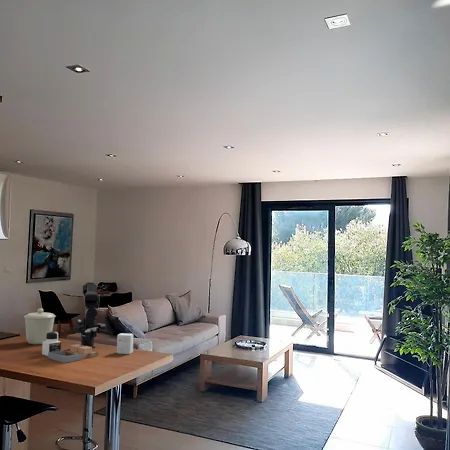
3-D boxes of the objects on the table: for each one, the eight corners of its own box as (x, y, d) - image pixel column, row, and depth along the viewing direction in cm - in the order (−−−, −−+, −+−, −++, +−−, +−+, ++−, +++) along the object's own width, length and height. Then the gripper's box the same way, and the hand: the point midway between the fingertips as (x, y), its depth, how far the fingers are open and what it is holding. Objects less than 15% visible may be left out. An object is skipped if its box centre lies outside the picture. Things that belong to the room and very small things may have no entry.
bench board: (82, 351, 248) (82, 348, 248) (97, 355, 240) (98, 352, 240) (65, 355, 239) (65, 351, 239) (81, 359, 231) (81, 355, 231)
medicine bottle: (48, 356, 235) (50, 334, 236) (41, 354, 239) (42, 332, 240) (60, 354, 241) (61, 332, 242) (53, 352, 245) (54, 330, 246)
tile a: (77, 349, 245) (78, 344, 245) (83, 350, 242) (83, 345, 242) (70, 350, 241) (70, 345, 241) (75, 352, 238) (76, 346, 238)
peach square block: (86, 351, 241) (86, 346, 241) (91, 352, 238) (92, 347, 238) (78, 353, 237) (78, 347, 237) (84, 354, 234) (84, 348, 234)
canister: (23, 340, 274) (25, 306, 275) (54, 339, 280) (56, 306, 281) (21, 346, 257) (23, 310, 258) (54, 345, 263) (56, 310, 265)
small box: (133, 352, 252) (133, 333, 252) (130, 354, 246) (130, 335, 247) (119, 351, 253) (120, 333, 253) (116, 353, 247) (117, 334, 248)
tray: (64, 355, 239) (64, 349, 240) (81, 359, 231) (81, 353, 231) (48, 358, 231) (48, 352, 232) (65, 363, 223) (65, 357, 223)
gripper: (94, 312, 262) (93, 339, 261) (67, 315, 246) (66, 343, 245) (107, 314, 255) (105, 341, 254) (80, 318, 240) (78, 346, 239)
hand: (89, 343), depth 248 cm, fingers closed
